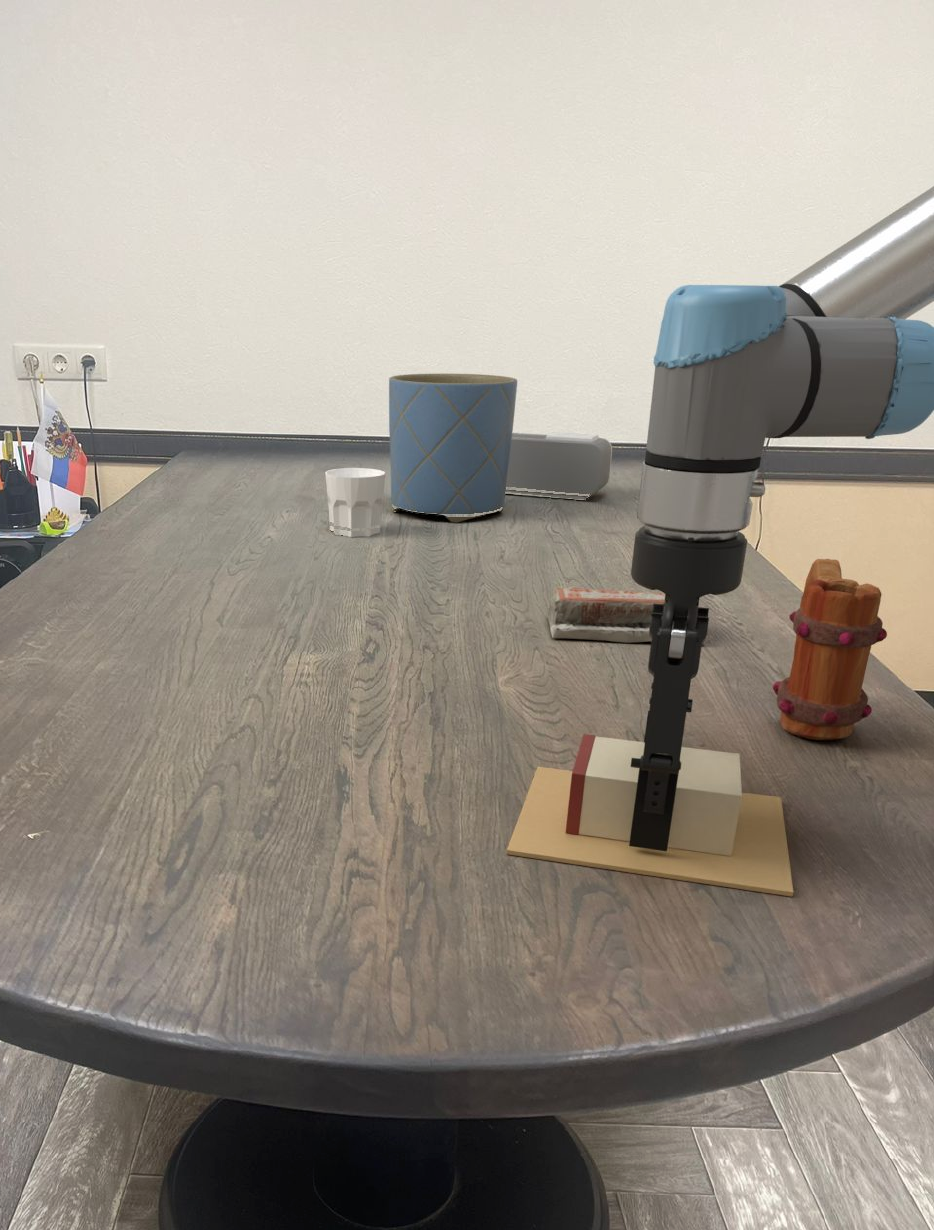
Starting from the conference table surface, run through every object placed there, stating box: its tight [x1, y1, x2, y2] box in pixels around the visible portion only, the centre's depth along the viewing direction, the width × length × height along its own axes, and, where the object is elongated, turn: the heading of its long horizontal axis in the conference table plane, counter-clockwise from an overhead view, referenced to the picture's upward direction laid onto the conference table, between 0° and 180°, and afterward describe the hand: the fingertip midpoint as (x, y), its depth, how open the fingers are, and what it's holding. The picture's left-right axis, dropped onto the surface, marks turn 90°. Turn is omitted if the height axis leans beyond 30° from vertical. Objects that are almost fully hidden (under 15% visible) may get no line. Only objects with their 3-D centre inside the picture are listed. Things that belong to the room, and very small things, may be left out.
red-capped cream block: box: [566, 733, 743, 856], centre depth 83 cm, size 8×12×5 cm
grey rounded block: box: [505, 431, 613, 501], centre depth 217 cm, size 27×9×12 cm, turn 66°
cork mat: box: [506, 766, 794, 898], centre depth 84 cm, size 20×16×1 cm
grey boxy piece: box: [547, 587, 704, 645], centre depth 131 cm, size 18×5×10 cm
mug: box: [772, 558, 888, 741], centre depth 102 cm, size 15×8×15 cm, turn 170°
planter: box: [388, 373, 518, 523], centre depth 196 cm, size 23×23×24 cm
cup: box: [324, 467, 386, 538], centre depth 182 cm, size 10×10×10 cm
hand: (651, 815), depth 84 cm, fingers open, 10 cm apart
